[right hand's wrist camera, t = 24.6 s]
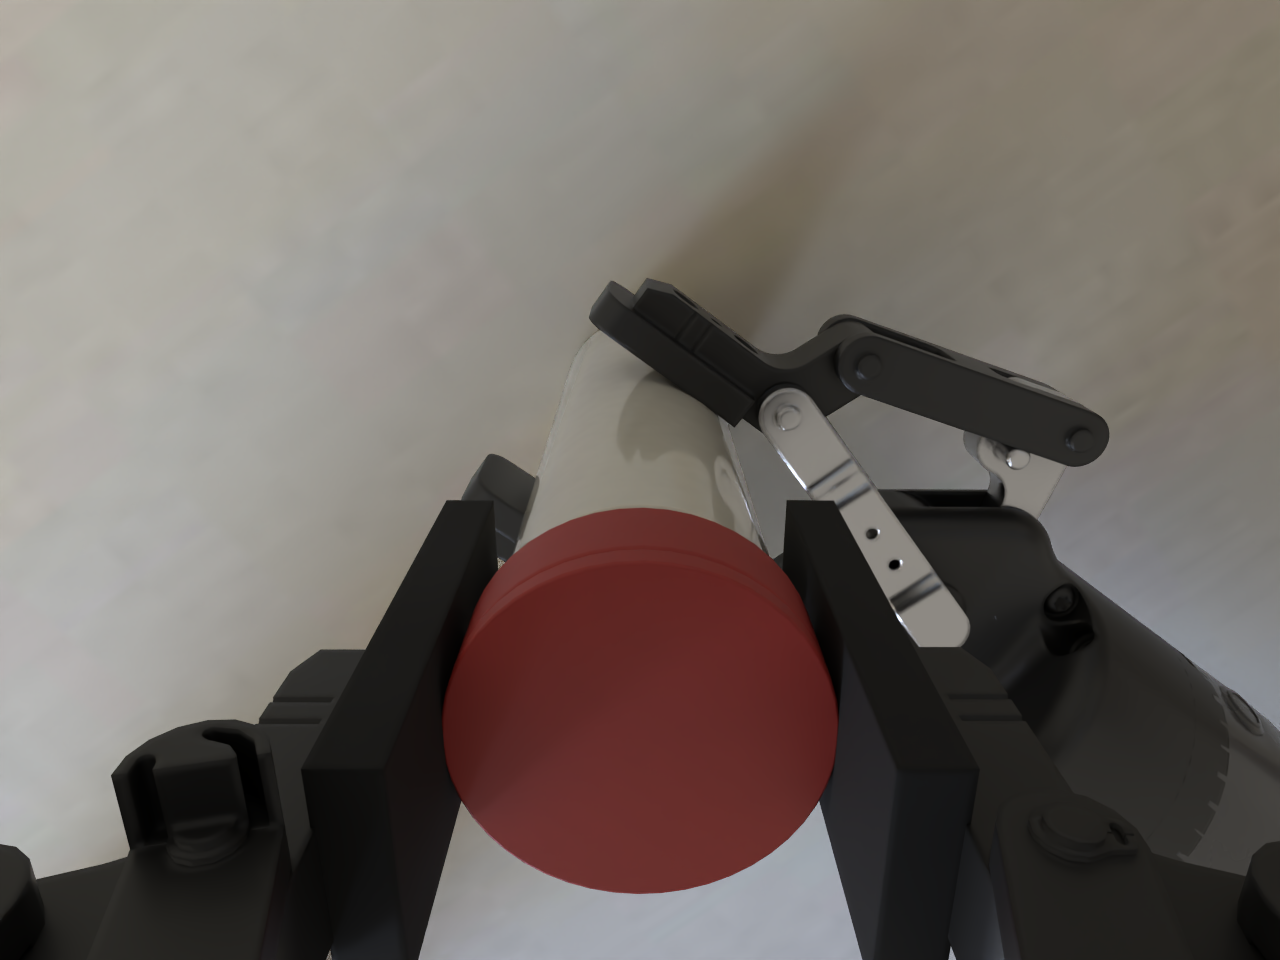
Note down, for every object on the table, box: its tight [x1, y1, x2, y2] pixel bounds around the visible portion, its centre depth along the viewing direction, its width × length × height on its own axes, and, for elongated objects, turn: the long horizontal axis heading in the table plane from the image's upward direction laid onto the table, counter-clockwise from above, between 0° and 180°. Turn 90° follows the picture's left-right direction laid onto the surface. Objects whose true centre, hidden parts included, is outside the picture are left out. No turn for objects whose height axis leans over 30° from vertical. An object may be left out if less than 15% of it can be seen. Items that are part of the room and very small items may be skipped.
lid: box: [442, 508, 839, 894], centre depth 11 cm, size 5×5×2 cm
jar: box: [512, 330, 769, 556], centre depth 18 cm, size 4×4×15 cm
